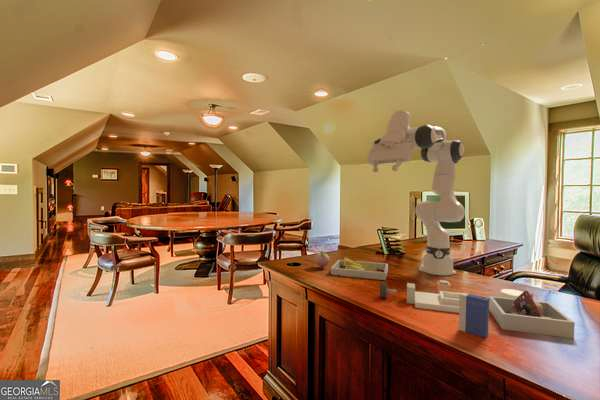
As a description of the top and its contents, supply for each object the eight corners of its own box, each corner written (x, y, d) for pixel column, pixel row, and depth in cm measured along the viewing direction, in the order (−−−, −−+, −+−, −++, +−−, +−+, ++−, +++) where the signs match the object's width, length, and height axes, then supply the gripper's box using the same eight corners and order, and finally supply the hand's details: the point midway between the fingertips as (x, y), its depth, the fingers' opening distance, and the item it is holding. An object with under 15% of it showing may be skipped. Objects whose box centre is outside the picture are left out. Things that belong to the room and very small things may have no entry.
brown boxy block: (436, 292, 139) (436, 279, 138) (448, 293, 137) (449, 280, 137) (437, 295, 134) (437, 282, 134) (450, 297, 132) (450, 283, 132)
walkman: (488, 334, 98) (489, 297, 97) (486, 338, 96) (487, 299, 95) (461, 327, 103) (462, 291, 103) (458, 329, 101) (459, 293, 101)
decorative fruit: (312, 266, 182) (312, 249, 181) (325, 265, 184) (325, 248, 184) (317, 270, 173) (317, 252, 172) (331, 269, 175) (331, 252, 175)
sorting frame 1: (338, 265, 185) (338, 259, 185) (387, 269, 176) (388, 263, 176) (330, 274, 165) (330, 268, 165) (385, 280, 156) (385, 273, 156)
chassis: (406, 295, 134) (407, 280, 134) (466, 301, 127) (467, 286, 126) (406, 306, 121) (407, 290, 121) (473, 314, 113) (474, 297, 113)
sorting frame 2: (488, 309, 119) (489, 296, 119) (548, 316, 113) (549, 302, 113) (502, 329, 102) (502, 313, 102) (573, 338, 96) (574, 322, 96)
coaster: (515, 306, 123) (516, 297, 123) (494, 297, 133) (494, 289, 132) (535, 303, 126) (535, 295, 125) (512, 295, 135) (512, 287, 135)
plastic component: (379, 269, 165) (365, 264, 161) (374, 282, 164) (361, 278, 160) (355, 261, 183) (342, 256, 178) (351, 273, 182) (338, 268, 177)
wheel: (380, 294, 134) (380, 280, 134) (396, 296, 132) (397, 282, 131) (379, 299, 128) (379, 284, 128) (396, 301, 126) (396, 286, 126)
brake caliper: (495, 309, 112) (515, 283, 113) (518, 327, 113) (538, 300, 113) (520, 323, 101) (542, 293, 101) (545, 342, 102) (567, 313, 102)
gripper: (418, 144, 129) (410, 173, 125) (377, 149, 145) (368, 175, 141) (411, 135, 125) (403, 165, 122) (369, 142, 141) (361, 168, 137)
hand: (384, 170), depth 131 cm, fingers open, 8 cm apart
